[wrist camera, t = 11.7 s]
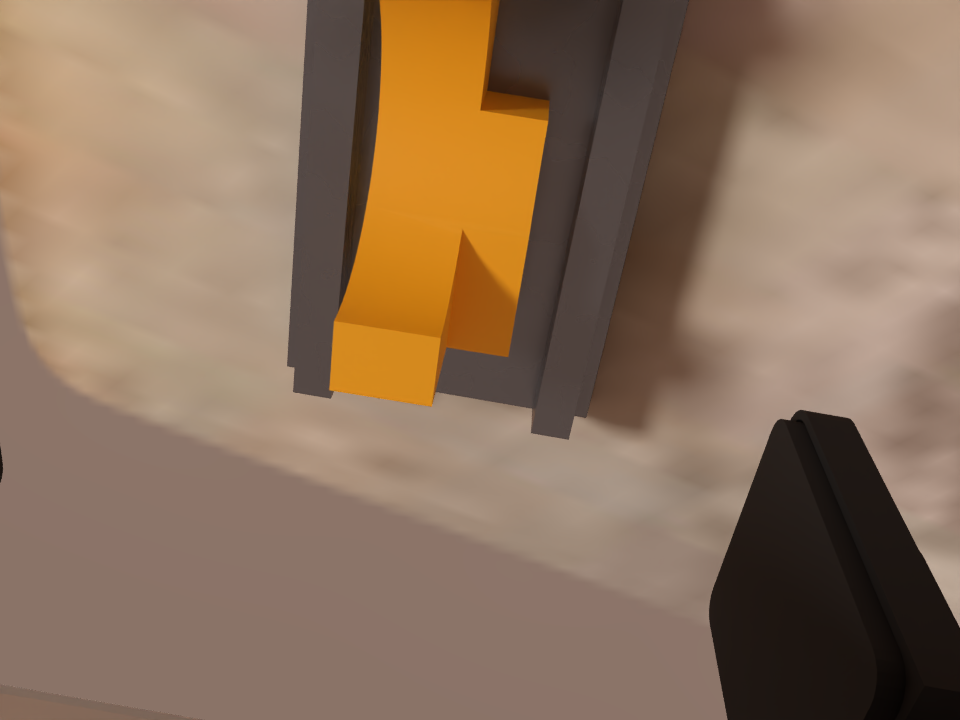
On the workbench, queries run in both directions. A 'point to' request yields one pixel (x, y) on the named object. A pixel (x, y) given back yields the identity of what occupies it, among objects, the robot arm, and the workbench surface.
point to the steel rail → (559, 197)
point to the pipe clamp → (438, 205)
